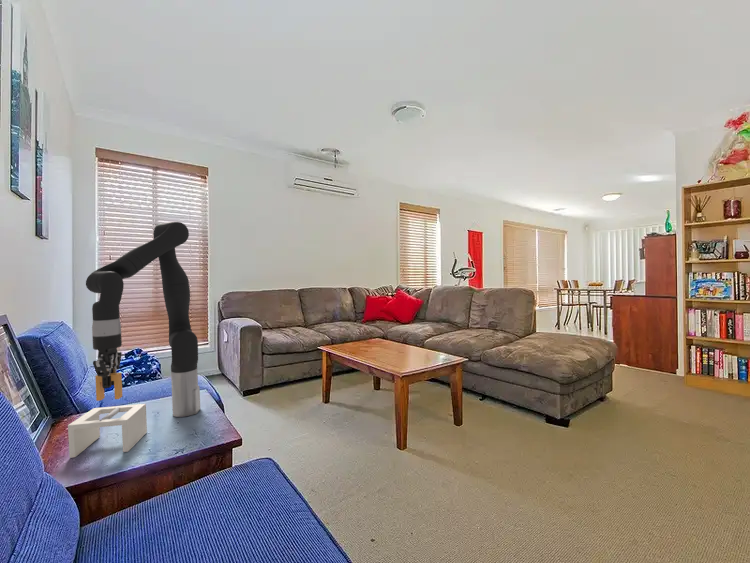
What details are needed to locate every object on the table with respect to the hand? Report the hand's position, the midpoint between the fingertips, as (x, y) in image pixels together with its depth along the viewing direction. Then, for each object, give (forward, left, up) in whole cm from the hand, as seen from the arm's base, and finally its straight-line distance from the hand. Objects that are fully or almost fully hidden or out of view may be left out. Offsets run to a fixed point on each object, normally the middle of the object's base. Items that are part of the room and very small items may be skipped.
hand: (109, 386), depth 118 cm
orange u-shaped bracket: (0, 0, -4) cm, 4 cm away
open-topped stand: (0, 0, -19) cm, 19 cm away
